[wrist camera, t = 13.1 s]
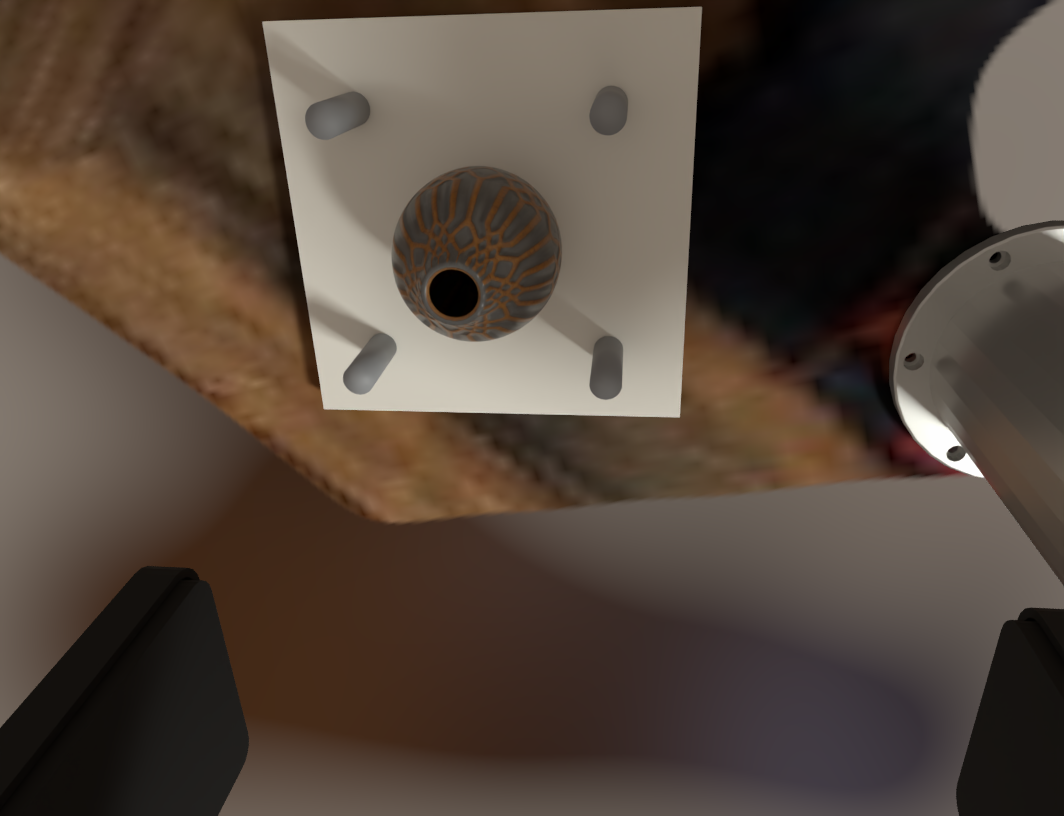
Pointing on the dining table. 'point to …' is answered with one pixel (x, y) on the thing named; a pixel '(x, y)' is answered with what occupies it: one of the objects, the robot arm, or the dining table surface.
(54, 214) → the dining table surface
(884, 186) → the dining table surface
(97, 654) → the robot arm
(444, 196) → the vase
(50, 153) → the dining table surface
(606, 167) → the stand
